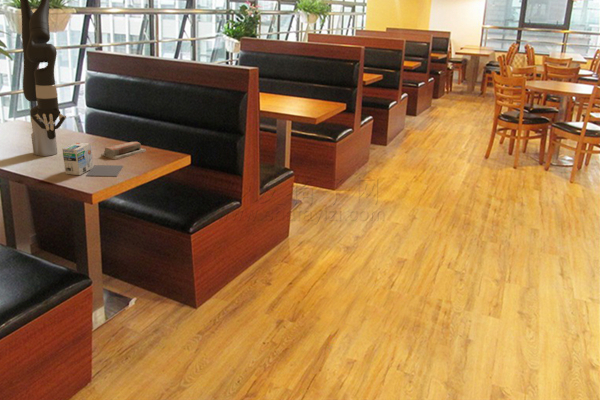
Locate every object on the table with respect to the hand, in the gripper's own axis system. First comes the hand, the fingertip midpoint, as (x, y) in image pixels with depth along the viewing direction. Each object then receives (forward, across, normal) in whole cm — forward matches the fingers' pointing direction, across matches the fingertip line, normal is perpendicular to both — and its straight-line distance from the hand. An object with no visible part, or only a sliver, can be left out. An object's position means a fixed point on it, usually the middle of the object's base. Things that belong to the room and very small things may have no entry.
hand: (52, 138), depth 226 cm
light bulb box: (+14, +10, 0) cm, 17 cm away
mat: (+14, +20, +1) cm, 24 cm away
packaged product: (+14, +22, +27) cm, 38 cm away
